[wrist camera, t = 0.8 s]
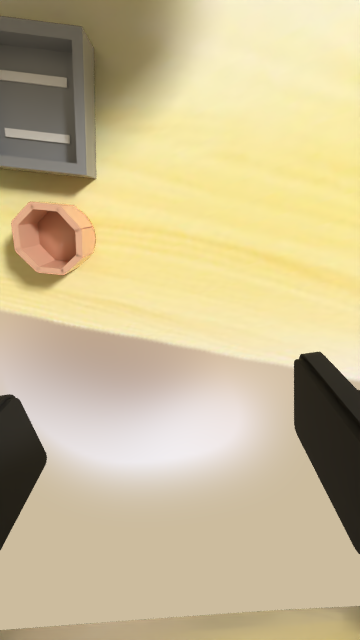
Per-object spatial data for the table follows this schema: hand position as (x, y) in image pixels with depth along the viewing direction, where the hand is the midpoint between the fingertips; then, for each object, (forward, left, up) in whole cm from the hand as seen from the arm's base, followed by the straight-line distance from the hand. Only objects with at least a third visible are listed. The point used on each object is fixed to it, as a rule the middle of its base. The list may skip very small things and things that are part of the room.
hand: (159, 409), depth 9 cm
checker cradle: (-15, -16, -29) cm, 36 cm away
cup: (-2, -14, -29) cm, 32 cm away
